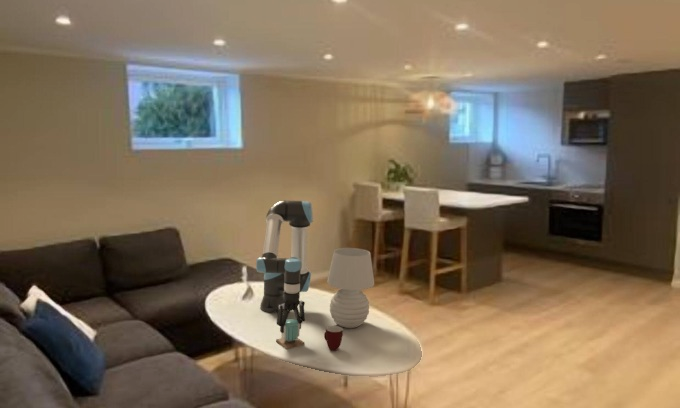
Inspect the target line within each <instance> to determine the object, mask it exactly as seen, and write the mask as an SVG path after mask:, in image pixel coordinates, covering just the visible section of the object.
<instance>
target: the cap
mask: <svg viewBox="0 0 680 408" xmlns="http://www.w3.org/2000/svg"><path fill="white" fill-rule="evenodd" d="M285 326H286V340H296V339H297V338H299V337H298V321H297V319H293V318H291V319H290V318H289V319H288V318H287V320H286V323H285Z"/></svg>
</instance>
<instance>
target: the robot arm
mask: <svg viewBox="0 0 680 408" xmlns="http://www.w3.org/2000/svg"><path fill="white" fill-rule="evenodd" d="M313 215H314V214H313V206H312V203H311V202H310V201H306V200H286V199H284V200H283V199H282V200H280V201H277V202H276V203H274V204H273V205H272V206H271V207H270V208H269V210H268V211H267V213H266V216H265V222H266V227H265V228H266V229H265V236H264V242H263V249H262V255H261V257H257V259H256V263H255V264H256V265H255V269H256V272H257V273H263V274H264V275H263V295H262V299H261V302H260V305H259V306H260V308H259V309H260V310H261V311H263V312H266V313H277V319H276V325H277V326H279V327H280V328H279V329H280V330H279V332H280V333H281V337H280V338H282V339H284V340H286V326H285V323H286V320H287V319H288V317H289V314H290V313H291V311H293V312H294V315H295V320H297V321H298V338H300V330H301V329H302V324H303V322H305V320H306V319H305V317H306V316H305V301H303V300H300V296H301V294H300V293H305V292H308V291H309V288H310V284H311V278H312V277H311V276H312V272H311V271H310V269H309V268H308V267H307V253H308V249H307V248H308V246H307V244H308V228H309V227H310V226H311V223H313V222H314V217H313ZM284 222H288V223H289V224H288V225H289V227H291V246H290V247H291V250H290V251H291V252H290V253H291V254H290V255H291V256H290V258H287V257H285V258H282V257H278V254H279V252H278V251H279V245H280V239H281V237H280V235H281V230H282V229H281V228H282V226H283V224H284Z"/></svg>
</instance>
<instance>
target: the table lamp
mask: <svg viewBox="0 0 680 408" xmlns="http://www.w3.org/2000/svg"><path fill="white" fill-rule="evenodd" d="M373 271H374V270H373V263H372V255H371V252H370V251H369V250H367V249H363V248H356V247H355V248H354V247H342V248H340V247H339V248H337V249H334V251H333V255H332V258H331V263H330V267H329V272H328V276H327V281H326V283H327V284H328V285H329V286H330V287H333V288H336V289H338V290H337V291H336V292H335V293H334V294H333V296H332V297H331V299H330V303H329V312H330V316H331V318H332V319H333V321H334V322H335V323H336V324H337V326H339V327H341V328H346V329H354V328H358V327H359V326H361V325H362V324H363V323H365V321H366V320H367V318H368V316H369V312H370V301H369V299H368V297H367V295H366V294H365V293H364V292H363V291H364V290H367V289H368V290H369V289H371V288H373V287H374V286H375V279H374V277H375V276H374V272H373ZM362 290H363V291H362Z"/></svg>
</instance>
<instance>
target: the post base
mask: <svg viewBox="0 0 680 408" xmlns="http://www.w3.org/2000/svg"><path fill="white" fill-rule="evenodd" d="M275 342H276V343H277V344H279V345H280V346H281V347H283V348H284V349H285V350H287V349H293V348H296V347H301V346H304V345H305V341H303V340H301V339H300V337H298V338H297V339H296V340H284V339H282V338H281V337H280V338H276V339H275Z"/></svg>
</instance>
